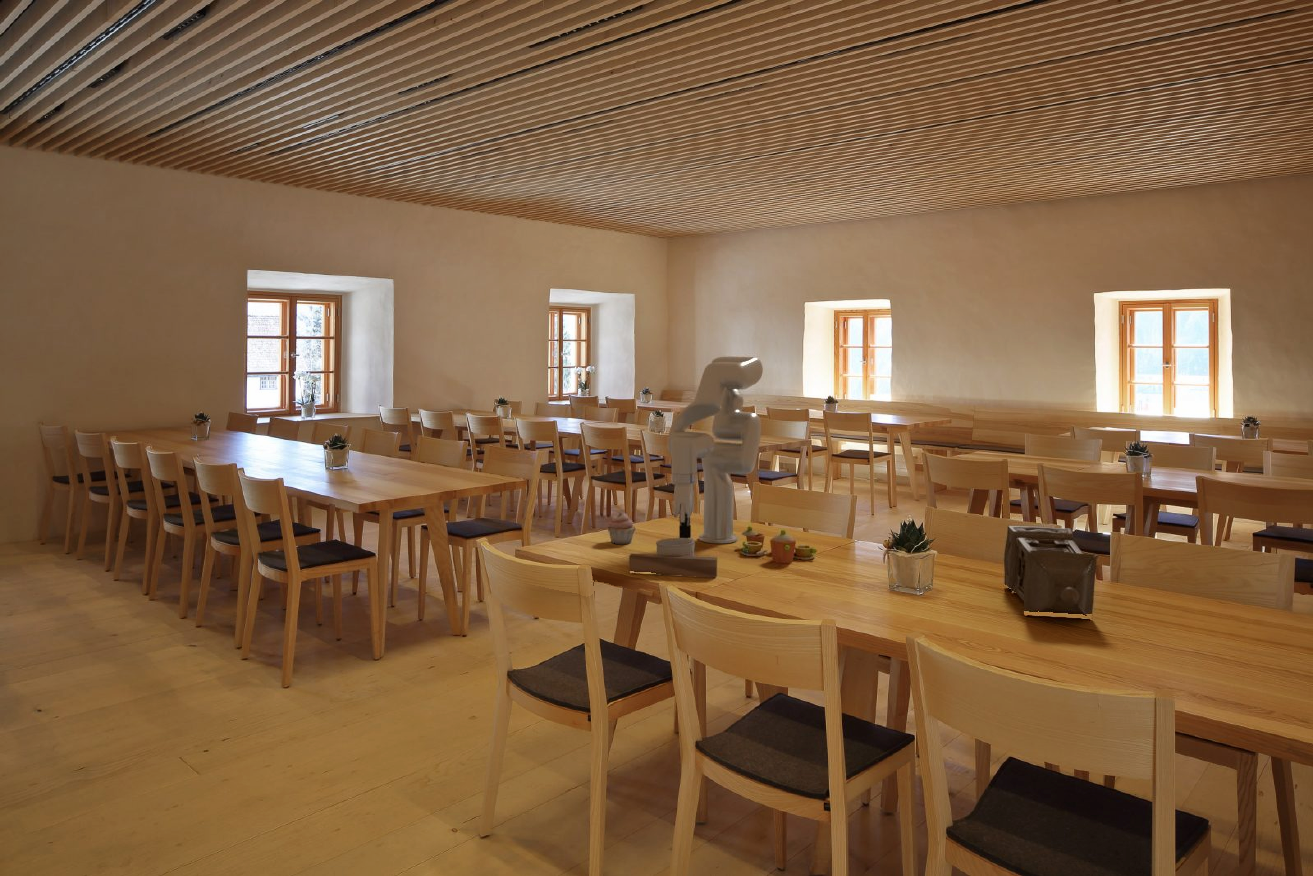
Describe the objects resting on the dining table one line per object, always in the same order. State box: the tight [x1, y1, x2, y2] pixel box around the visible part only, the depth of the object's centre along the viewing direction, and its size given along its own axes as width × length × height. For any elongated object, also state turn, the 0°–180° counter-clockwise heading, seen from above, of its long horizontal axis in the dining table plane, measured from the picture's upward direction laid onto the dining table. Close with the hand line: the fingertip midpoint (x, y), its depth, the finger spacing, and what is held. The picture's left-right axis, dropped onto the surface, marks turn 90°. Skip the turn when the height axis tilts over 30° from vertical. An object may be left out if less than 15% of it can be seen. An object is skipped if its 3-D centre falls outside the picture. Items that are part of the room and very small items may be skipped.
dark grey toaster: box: [1003, 525, 1099, 616], centre depth 219 cm, size 35×18×18 cm, turn 168°
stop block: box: [628, 553, 718, 579], centre depth 250 cm, size 3×24×5 cm, turn 81°
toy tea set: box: [741, 525, 817, 564], centre depth 274 cm, size 26×16×10 cm, turn 45°
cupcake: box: [606, 511, 637, 545], centre depth 289 cm, size 9×9×10 cm
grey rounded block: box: [655, 537, 696, 556], centre depth 258 cm, size 14×11×8 cm
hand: (685, 538), depth 271 cm, fingers closed
